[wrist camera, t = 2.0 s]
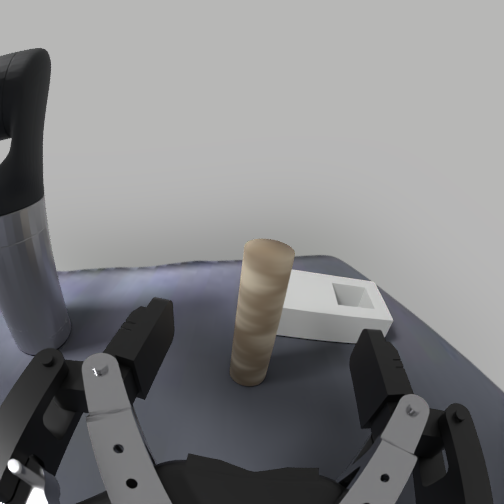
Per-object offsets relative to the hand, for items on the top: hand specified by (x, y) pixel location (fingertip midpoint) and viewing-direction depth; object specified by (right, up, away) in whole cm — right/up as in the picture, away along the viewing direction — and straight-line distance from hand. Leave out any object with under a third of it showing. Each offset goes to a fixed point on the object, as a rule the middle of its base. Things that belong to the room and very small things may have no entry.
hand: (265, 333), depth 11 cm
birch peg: (-1, -10, +17) cm, 20 cm away
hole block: (+9, -6, +28) cm, 30 cm away
